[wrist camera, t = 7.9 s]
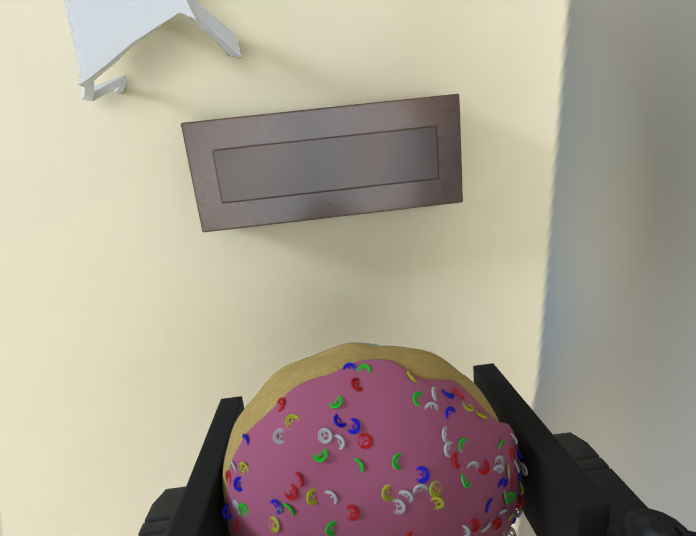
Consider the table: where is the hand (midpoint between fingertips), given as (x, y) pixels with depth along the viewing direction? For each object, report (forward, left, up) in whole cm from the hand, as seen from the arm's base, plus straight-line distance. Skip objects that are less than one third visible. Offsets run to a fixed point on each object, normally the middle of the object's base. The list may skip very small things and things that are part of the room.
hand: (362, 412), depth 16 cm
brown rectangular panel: (+9, 0, -12) cm, 15 cm away
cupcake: (0, 0, -1) cm, 1 cm away
